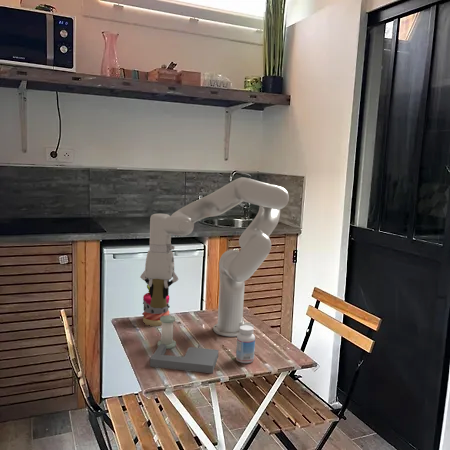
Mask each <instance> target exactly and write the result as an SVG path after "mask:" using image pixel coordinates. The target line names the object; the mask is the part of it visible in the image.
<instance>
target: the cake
mask: <svg viewBox="0 0 450 450" xmlns="http://www.w3.org/2000/svg"><path fill="white" fill-rule="evenodd" d="M146 288H147V289H148V290H147V291H148V292H147V293H144V295H143V297H142V299H143V300H142V305H143V313H142V316H143V317H142V321H143V322H144V323H145V324H144V323H143V324H144V325H145V326H148V325H150V326H151V327H162V322H161V321H160V317H162V316H166V315H169V316H170V309H169V308H170V305H169V303H170V295H169V294H168V296H167V297H166V302H167V306H166V307H164V308H153V307H151V306H150V304H151V295H150V294H149V286H148V284H147V285H146ZM150 326H149V327H150Z"/></svg>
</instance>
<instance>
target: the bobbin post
mask: <svg viewBox="0 0 450 450" xmlns="http://www.w3.org/2000/svg"><path fill="white" fill-rule="evenodd" d="M160 321H161V322H162V326H161V331H160V332H161V333H160V334H161V337H160V340H158V341H157V348H158V347H159V345H160V344H166V350H171V349H174V348H176V346H177V342H176V341H175V340H174V339H173V338H174V322H176V317H175V316H173V315H170V314H169V315H166V316H162V317H160Z"/></svg>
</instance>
